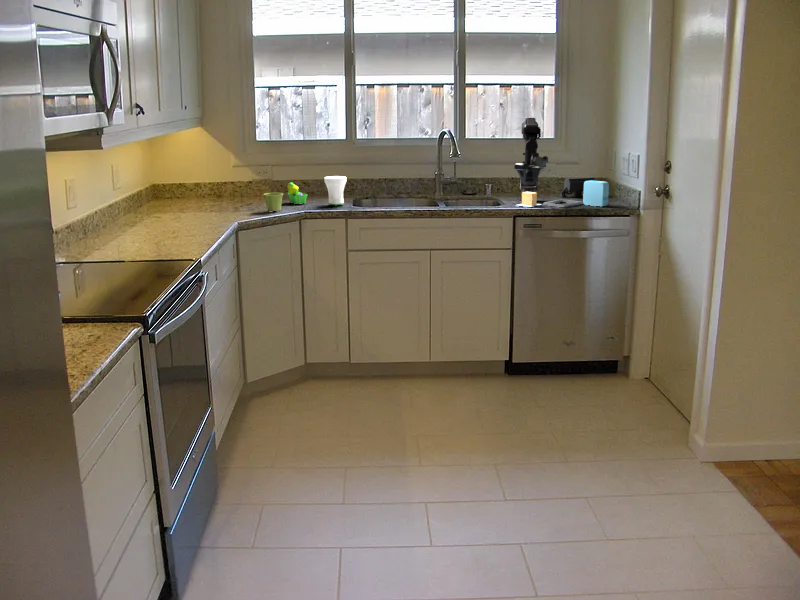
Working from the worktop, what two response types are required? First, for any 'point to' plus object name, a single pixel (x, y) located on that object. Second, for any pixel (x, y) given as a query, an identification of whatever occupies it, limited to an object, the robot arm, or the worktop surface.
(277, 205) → the plant pot
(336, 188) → the cup
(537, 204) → the mat
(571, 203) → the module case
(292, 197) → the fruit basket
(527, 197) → the module
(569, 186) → the security camera
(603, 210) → the worktop surface
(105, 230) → the worktop surface
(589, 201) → the data package
